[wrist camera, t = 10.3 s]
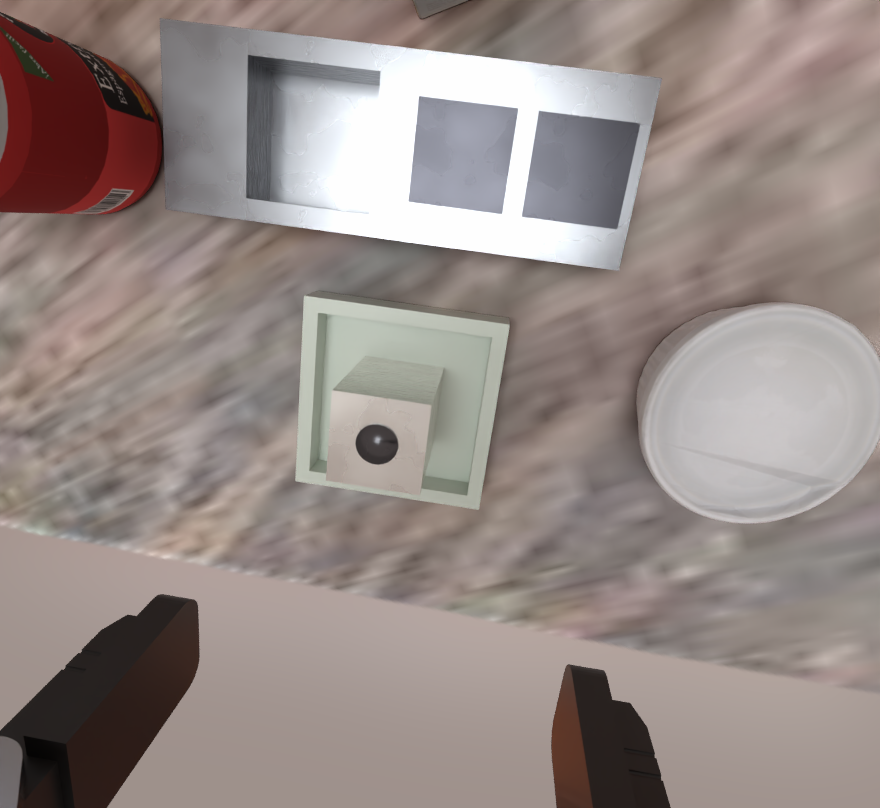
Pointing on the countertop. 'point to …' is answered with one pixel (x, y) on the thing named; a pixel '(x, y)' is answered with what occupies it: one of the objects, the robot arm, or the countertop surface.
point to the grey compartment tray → (403, 142)
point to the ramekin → (759, 410)
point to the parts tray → (417, 341)
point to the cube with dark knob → (384, 424)
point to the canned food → (70, 128)
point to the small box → (433, 6)
